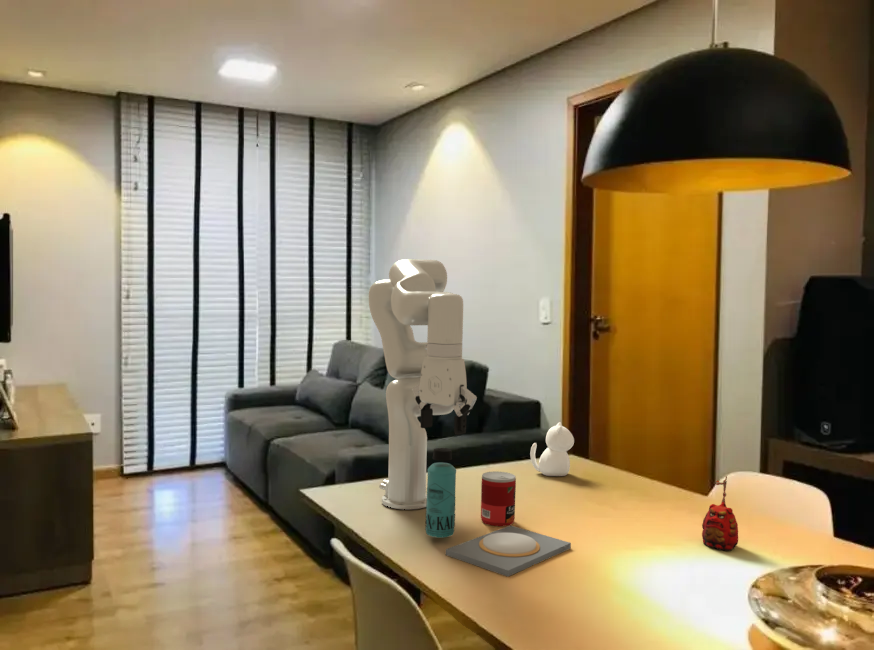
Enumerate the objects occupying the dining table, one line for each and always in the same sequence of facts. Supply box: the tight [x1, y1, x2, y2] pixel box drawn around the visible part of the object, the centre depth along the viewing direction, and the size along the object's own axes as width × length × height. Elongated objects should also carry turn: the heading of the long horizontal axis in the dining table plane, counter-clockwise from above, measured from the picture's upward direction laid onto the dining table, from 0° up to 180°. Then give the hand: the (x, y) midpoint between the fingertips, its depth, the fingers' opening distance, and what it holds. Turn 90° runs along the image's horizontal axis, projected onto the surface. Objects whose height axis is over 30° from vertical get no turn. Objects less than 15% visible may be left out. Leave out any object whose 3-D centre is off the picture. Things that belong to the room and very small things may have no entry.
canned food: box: [480, 470, 517, 527], centre depth 181 cm, size 8×8×11 cm
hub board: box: [445, 524, 572, 577], centre depth 161 cm, size 16×22×2 cm
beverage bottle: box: [424, 447, 457, 539], centre depth 167 cm, size 6×7×20 cm
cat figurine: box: [529, 421, 575, 477], centre depth 225 cm, size 9×12×15 cm
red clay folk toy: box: [701, 475, 739, 552], centre depth 167 cm, size 8×7×15 cm
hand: (442, 430), depth 166 cm, fingers open, 9 cm apart
